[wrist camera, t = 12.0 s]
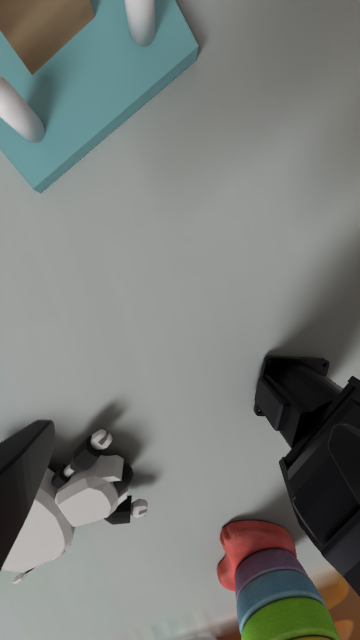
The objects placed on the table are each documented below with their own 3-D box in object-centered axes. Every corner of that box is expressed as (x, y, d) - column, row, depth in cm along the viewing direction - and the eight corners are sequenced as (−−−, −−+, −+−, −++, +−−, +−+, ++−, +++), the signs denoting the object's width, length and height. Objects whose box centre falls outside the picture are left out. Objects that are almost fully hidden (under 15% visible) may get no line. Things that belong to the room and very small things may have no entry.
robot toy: (111, 404, 22) (-35, 460, 21) (102, 437, 18) (-82, 510, 17) (153, 487, 26) (29, 538, 25) (154, 532, 21) (4, 596, 20)
